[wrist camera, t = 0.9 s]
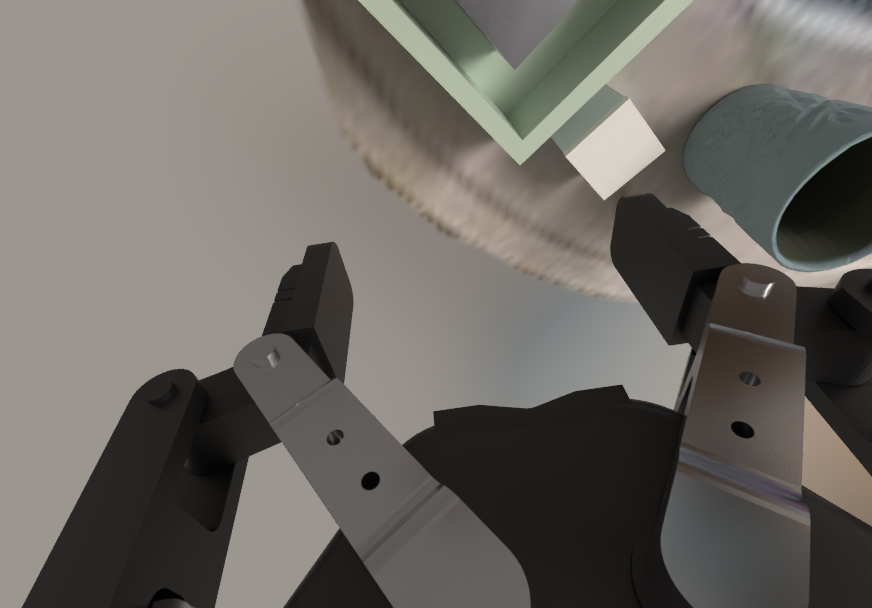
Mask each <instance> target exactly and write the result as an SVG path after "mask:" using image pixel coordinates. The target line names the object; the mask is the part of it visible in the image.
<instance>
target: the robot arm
mask: <svg viewBox="0 0 872 608" xmlns="http://www.w3.org/2000/svg"><path fill="white" fill-rule="evenodd" d="M610 251H611V258H612V262H613V264H614V266H615V268H616V269H617V271H618V272H619V274H620V275H621V277H622V278H623V279H624V281H625V282H626V284H627V285H628V287H629V288H630V290H631V291H632V293H633V294H634V295H635V297H636V298H637V300H638V301H639V303H640V304H641V306H642V307H643V309H644V310H645V311H646V313H647V314H648V316H649V317H650V319H651V320H652V322H653V323H654V325H655V326H656V328H657V329H658V330H659V332H660V333H661V335H662V336H663V338H664V339H665V341H666V342H667V343H668V345H676V344H683V343H689V344H690V346H691V347H692V349H691V351H690V354H689V357H688V360H687V364H686V367H685V371H684V374H683V378H682V381H681V385H680V389H679V393H678V396H677V399H676V403H675V407H674V410H672V409H669V408H666V407H663V406H661V405H657V404H654V403H650V402H646V401H641V400H635V399H629V397H628V395H627V393H626V391H625V389H624V387H623V385H616V386H609V387H602V388H595V389H588V390H581V391H575V392H572V393H570V394H567V395H565V396H562V397H559V398H557V399H554V400H552V401H549V402H547V403H544V404H542V405H539V406H536V407H534V408H528V409H524V408H512V407H499V406H486V405H475V406H468V407H462V408H455V409H447V410H440V411H434V412H433V413H434V425H435V426H432V427H430V428H427V429H425V430H424V431H422V432H420V433H418V434H416V435H415V436H413V437H412V438H411V439H409V440H408V441H406V442H405V443H404V444H403V445H401V444H400V443H399V442H398V441H397V440H396V439H395V437H393V435H392V434H391V433H390V432H389V431H388V430H387V429H386V428H385V427H384V426H383V425H382V424H381V423H380V422H379V421H378V420H377V419H376V418H375V416H374V415H373V414H372V413H371V412H370V411H369V410H368V409H367V408H366V407H365V406H364V405H363V404H362V403H361V402H360V401H359V400H358V399H357V398H356V397H355V396H354V395H353V394H352V392H351V391H350V390H349V389H348V388H347V387H346V386H345V385H344V379H345V370H346V362H347V354H348V345H349V337H350V329H351V320H352V312H353V293H352V288H351V284H350V281H349V278H348V275H347V272H346V269H345V266H344V263H343V261H342V258H341V255H340V252H339V249H338V246H337V245H336V243H335V242H329V243H322V244H316V245H310V246H308V247H307V249H306V253H305V256H304V259H303V263H302V264H300V265H294V266H292V267H291V268H290V269H289V271H288V272H287V273H286V274H285V275H284V276H283V277H282V280H281V282H280V285H279V288H278V293H277V294H276V297H275V300H274V301H275V303H273V305H272V308H271V311H270V314H269V317H268V320H267V323H266V326H265V328H264V331H263V334H262V337H259V338H257V339H255V340H253V341H252V342H250V343H249V344H248V345H246V346H245V347H244V348H243V349H242V350H241V351H240V352H239V353H238V355H237V357H236V358H235V361H234V366H233V367H232V368H230V369H227V370H225V371H222V372H220V373H217V374H215V375H212V376H210V377H207V378H204V379H202V380H198V379H197V378H196V376H195V375H194V374H193V373H192V372H191V371H189V370H185V369H175V370H170V371H167V372H164V373H162V374H160V375H157V376H155V377H154V378H152V379H151V380H149V381H148V382H146V383H145V384H144V385H142V386H141V387H140V388H139V389H138V390H137V391H136V393H135V394H134V395H133V396H132V398H131V400H130V401H129V403H128V405H127V407H126V409H125V411H124V413H123V415H122V417H121V419H120V421H119V423H118V425H117V426H116V428H115V430H114V432H113V434H112V436H111V438H110V440H109V442H108V444H107V446H106V447H105V449H104V451H103V453H102V455H101V457H100V459H99V461H98V463H97V465H96V467H95V469H94V471H93V472H92V474H91V476H90V478H89V480H88V482H87V484H86V486H85V488H84V490H83V492H82V493H81V495H80V498H79V499H78V501H77V503H76V505H75V507H74V509H73V511H72V513H71V514H70V517H69V518H68V520H67V522H66V524H65V526H64V528H63V530H62V532H61V534H60V536H59V537H58V539H57V541H56V543H55V545H54V547H53V549H52V551H51V553H50V555H49V557H48V559H47V561H46V562H45V564H44V566H43V568H42V570H41V572H40V574H39V576H38V578H37V580H36V582H35V583H34V585H33V587H32V589H31V591H30V593H29V595H28V597H27V599H26V601H25V603H24V605H23V606H22V608H215V603H216V599H217V594H218V590H219V586H220V581H221V577H222V573H223V568H224V564H225V559H226V555H227V551H228V546H229V542H230V537H231V533H232V529H233V524H234V520H235V515H236V511H237V506H238V502H239V497H240V493H241V489H242V485H243V480H244V476H245V471H246V467H247V462H248V458H249V456H251V455H253V454H255V453H258V452H260V451H262V450H265V449H267V448H269V447H271V446H274V445H276V444H278V443H280V442H282V443H283V445H284V446H285V448H286V449H287V451H288V452H289V454H290V455H291V456H292V458H293V459H294V461H295V462H296V464H297V465H298V467H299V468H300V470H301V471H302V473H303V474H304V476H305V477H306V479H307V480H308V482H309V483H310V485H311V486H312V488H313V489H314V490H315V492H316V493H317V495H318V496H319V498H320V499H321V501H322V502H323V504H324V505H325V507H326V508H327V510H328V511H329V513H330V514H331V515H332V517H333V519H334V520H335V522H336V523H337V524H338V526H339V527H340V528H339V530H338V531H337V533H336V534H335V536H334V537H333V538H332V540H331V541H330V543H329V544H328V545H327V547H326V548H325V550H324V551H323V553H322V554H321V555H320V557H319V558H318V559H317V561H316V562H315V564H314V565H313V566H312V568H311V570H310V571H309V572H308V574H307V575H306V576H305V578H304V579H303V581H302V582H301V584H300V585H299V586H298V588H297V589H296V590H295V592H294V593H293V595H292V596H291V597H290V599H289V600H288V602H287V603H286V605H285V606H284V607H283V608H872V527H871V526H870V525H868V524H866V523H865V522H863V521H861V520H860V519H858V518H856V517H855V516H853V515H851V514H850V513H848V512H846V511H845V510H843V509H841V508H840V507H838V506H836V505H834V504H833V503H831V502H829V501H828V500H826V499H824V498H823V497H821V496H819V495H818V494H816V493H814V492H812V491H811V490H809V489H808V488H806V487H804V486H803V485H802V457H803V427H804V400H805V397H804V396H806V397H807V399H808V400H809V401H810V402H811V403H812V405H813V406H814V407H815V408H816V410H817V411H818V412H819V413H820V414H821V416H822V417H823V418H824V419H825V420H826V422H827V423H828V424H829V425H830V427H831V428H832V429H833V430H834V431H835V433H836V434H837V435H838V436H839V437H840V439H841V440H842V441H843V442H844V443H845V444H846V446H847V447H848V448H849V449H850V451H851V452H852V453H853V454H854V455H855V457H856V458H857V459H858V460H859V461H860V463H861V464H862V465H863V466H864V468H865V469H866V470H867V471H868V472H869V473H870V475H871V476H872V269H857V270H852V271H849V272H847V273H845V274H844V275H843V276H842V277H841V279H840V280H839V282H838V284H837V285H836V287H835V289H832V288H815V287H798V286H796V285H795V283H794V282H793V280H792V279H790V278H789V277H788V276H787V275H785V274H784V273H782V272H780V271H778V270H776V269H773V268H770V267H767V266H763V265H758V264H749V263H742V264H741V263H740V262H739V261H738V260H737V259H736V258H735V257H734V256H733V255H732V254H730V253H729V252H728V251H727V250H726V249H725V248H724V247H723V246H722V245H721V244H719V243H718V242H717V241H716V240H715V239H714V238H713V237H710V234H709V233H707V232H706V231H705V230H704V229H703V228H700V225H699V224H698V223H696V222H695V221H694V220H693V219H692V218H691V217H690V216H689V215H687V214H684V213H682V212H680V211H678V210H675V209H673V208H667V207H665V206H664V205H663V204H662V203H661V202H660V201H659V200H658V199H657V198H656V197H655V196H654V195H653V194H651V193H646V194H639V195H633V196H626V197H622V198H620V199H619V201H618V204H617V208H616V215H615V221H614V227H613V233H612V239H611V247H610Z"/></svg>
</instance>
